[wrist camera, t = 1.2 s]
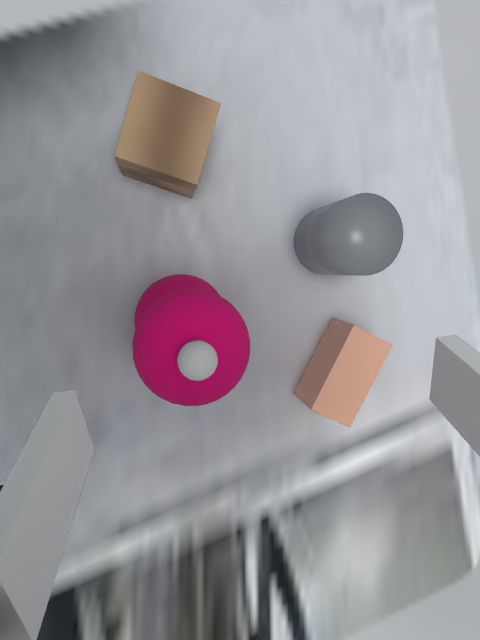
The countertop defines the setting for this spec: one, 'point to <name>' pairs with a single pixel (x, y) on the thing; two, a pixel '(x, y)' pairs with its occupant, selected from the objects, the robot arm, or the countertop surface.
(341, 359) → the terracotta brick
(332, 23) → the countertop surface
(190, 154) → the walnut block
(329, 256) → the charcoal canister
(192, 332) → the pepper mill
